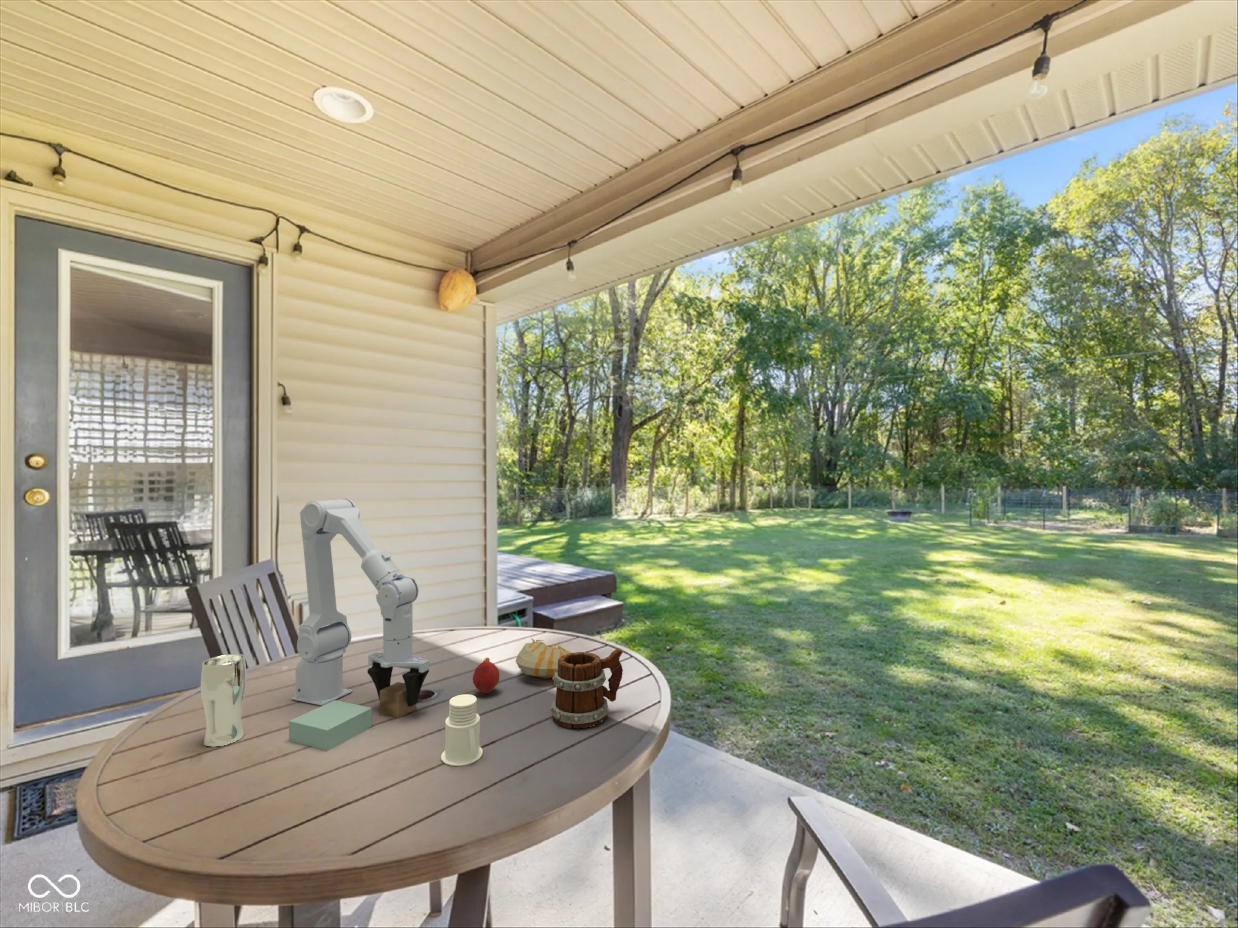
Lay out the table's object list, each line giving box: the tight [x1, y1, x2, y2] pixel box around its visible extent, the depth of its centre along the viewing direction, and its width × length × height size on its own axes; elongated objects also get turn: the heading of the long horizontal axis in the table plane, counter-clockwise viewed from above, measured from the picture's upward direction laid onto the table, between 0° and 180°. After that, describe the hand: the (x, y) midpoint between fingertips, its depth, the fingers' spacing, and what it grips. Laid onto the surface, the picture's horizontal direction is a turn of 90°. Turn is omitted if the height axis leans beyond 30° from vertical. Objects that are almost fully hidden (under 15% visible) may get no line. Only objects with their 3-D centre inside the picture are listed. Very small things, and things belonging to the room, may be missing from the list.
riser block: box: [288, 699, 373, 751], centre depth 104 cm, size 10×10×4 cm
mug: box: [549, 648, 624, 729], centre depth 111 cm, size 12×14×15 cm
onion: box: [472, 657, 500, 695], centre depth 122 cm, size 6×6×8 cm
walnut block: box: [379, 681, 417, 719], centre depth 114 cm, size 5×5×5 cm
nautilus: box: [515, 637, 572, 679], centre depth 136 cm, size 8×22×15 cm
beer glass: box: [200, 653, 247, 747], centre depth 102 cm, size 7×7×15 cm
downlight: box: [440, 693, 483, 767], centre depth 96 cm, size 8×7×10 cm
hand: (398, 701), depth 114 cm, fingers open, 7 cm apart
